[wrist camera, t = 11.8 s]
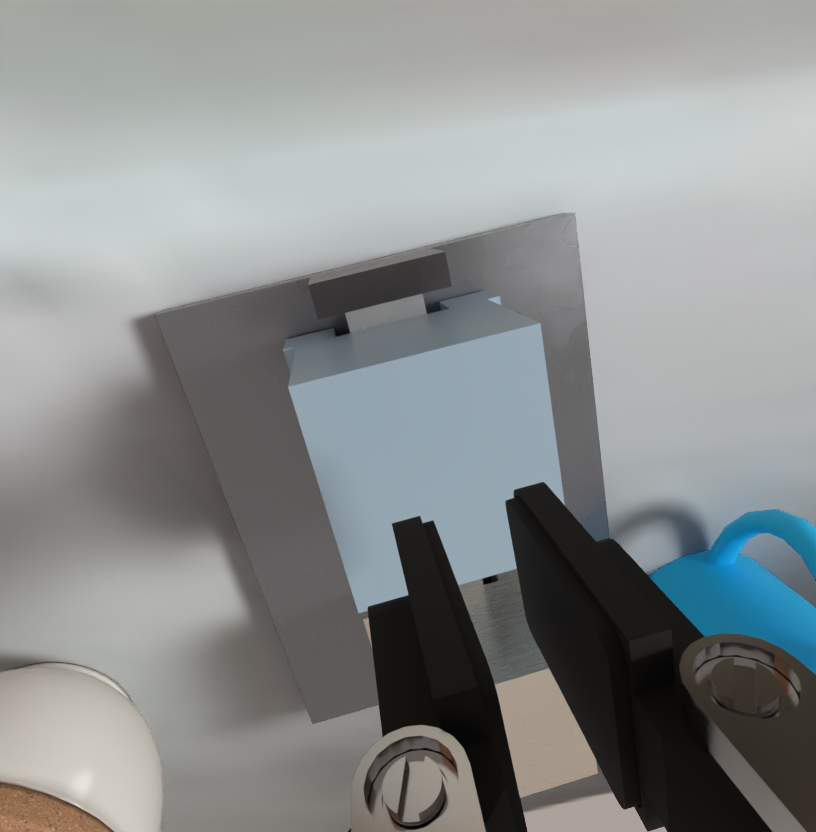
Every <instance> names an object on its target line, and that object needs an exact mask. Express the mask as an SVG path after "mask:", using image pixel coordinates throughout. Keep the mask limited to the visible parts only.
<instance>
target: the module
mask: <svg viewBox="0 0 816 832" xmlns="http://www.w3.org/2000/svg"><path fill="white" fill-rule="evenodd" d="M439 303H440V308H441V311H438V312H434V313H430V314H426V315H422V316H418V317H413V318H409V319H405V320H401V321H397V322H393V323H389V324H385V325H381V326H377V327H373V328H369V329H365V330H361V331H357V332H353V333H349V334H345V335H341V336H337V337H336V334H335V330H334V328H331V329H327V330H323V331H319V332H315V333H310V334H306V335H302V336H298V337H294V338H290V339H286V342H285V345H284V348H283V351H284V355H285V358H286V361H287V364H288V368H289V371H290V374H291V375H290V380H289V385H288V388H289V392H290V395H291V398H292V401H293V405H294V408H295V411H296V414H297V417H298V421H299V424H300V427H301V430H302V433H303V437H304V440H305V443H306V446H307V449H308V453H309V456H310V459H311V462H312V466H313V469H314V472H315V475H316V478H317V482H318V485H319V488H320V491H321V494H322V498H323V501H324V504H325V507H326V510H327V514H328V517H329V520H330V523H331V527H332V530H333V533H334V536H335V539H336V543H337V546H338V549H339V552H340V555H341V559H342V562H343V565H344V568H345V571H346V575H347V578H348V581H349V584H350V588H351V591H352V594H353V597H354V600H355V604H356V607H357V610H358V613H362V612H365V611H368V606H372V605H375V604H379V603H382V602H386V601H389V600H393V599H396V598H400V597H403V596H407V595H408V591H407V586H406V582H405V578H404V574H403V569H402V565H401V561H400V557H399V553H398V548H397V544H396V540H395V536H394V531H393V527H392V523H395V522H399V521H403V520H406V519H410V518H414V517H417V516H420V517H421V520H422V523H425V522H429V521H432V520H433V521H434V523H435V526H436V528H437V531H438V533H439V536H440V539H441V541H442V544H443V547H444V549H445V552H446V554H447V557H448V560H449V562H450V565H451V568H452V570H453V573H454V575H455V578H456V581H457V583H458V585H461V584H464V583H468V582H472V581H475V580H479V579H482V578H486V577H489V576H493V575H496V574H500V573H503V572H507V571H510V570H514V569H517V567H516V561H515V556H514V550H513V545H512V539H511V534H510V528H509V523H508V517H507V512H506V505H505V501H506V500H508V499H512V498H514V490H515V489H519V488H522V487H526V486H530V485H533V484H537V483H541V482H544V483H545V484H547V486H548V487H549V488H550V489H551V490H552V491H553V493H554V494H555V495H556V496H557V497H558V498H559V499H560V501H561V502H562V503H563V504H564V505H565V503H564V495H563V488H562V481H561V473H560V466H559V458H558V451H557V443H556V436H555V428H554V421H553V413H552V406H551V398H550V391H549V383H548V376H547V368H546V361H545V353H544V346H543V338H542V331H541V323H539V322H537V321H535V320H532V319H530V318H528V317H526V316H524V315H521V314H519V313H517V312H515V311H512V310H510V309H508V308H506V307H504V306H501V301H500V296H498V295H496V294H493V293H491V292H488V291H486V290H484V291H480V292H476V293H472V294H468V295H464V296H460V297H456V298H452V299H448V300H444V301H440V302H439Z"/></svg>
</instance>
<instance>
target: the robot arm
mask: <svg viewBox="0 0 816 832" xmlns="http://www.w3.org/2000/svg"><path fill="white" fill-rule="evenodd" d="M505 505H506V512H507V517H508V523H509V528H510V534H511V539H512V545H513V550H514V556H515V561H516V567H517V572H518V578H519V584H520V589H521V595H522V600H523V606H524V611H525V616H526V620H527V623H528V626H529V629H530V631H531V634H532V636H533V638H534V640H535V642H536V644H537V646H538V647H539V649H540V651H541V653H542V655H543V657H544V659H545V661H546V663H547V665H548V667H549V669H550V671H551V673H552V675H553V677H554V679H555V681H556V682H557V684H558V686H559V688H560V690H561V692H562V694H563V696H564V698H565V700H566V702H567V704H568V706H569V708H570V710H571V712H572V714H573V715H574V717H575V719H576V721H577V723H578V725H579V727H580V729H581V731H582V733H583V735H584V737H585V739H586V741H587V743H588V745H589V747H590V749H591V750H592V752H593V754H594V756H595V758H596V760H597V762H598V764H599V766H600V768H601V770H602V772H603V774H604V776H605V778H606V780H607V782H608V783H609V785H610V787H611V789H612V791H613V793H614V795H615V797H616V799H617V801H618V802H619V804H620V805H621V807H622V808H623V809H628V808H631V807H635V809H636V811H637V813H638V815H639V816H640V818H641V820H642V822H643V824H644V826H645V828H646V829H647V831H651V830H654V829H657V828H661V827H665V828H666V830H667V832H816V674H814V673H813V672H812V671H811V670H810V669H809V668H807V667H806V666H805V665H804V664H803V663H802V662H800V661H799V660H798V659H797V658H795V657H794V656H792V655H791V654H789V653H788V652H786V651H785V650H784V649H782V648H781V647H779V646H776V645H774V644H772V643H769V642H767V641H765V640H762V639H760V638H756V637H751V636H747V635H742V634H722V633H721V634H716V635H711V636H706V637H705V636H704V635H703V634H702V633H701V632H700V631H699V630H698V629H697V628H696V627H695V626H694V625H693V624H692V622H691V621H690V620H689V619H688V618H687V617H686V616H685V615H684V614H683V613H682V612H681V611H680V610H679V608H678V607H677V606H676V605H675V604H674V603H673V602H672V601H671V600H670V599H669V598H668V597H667V596H666V595H665V593H664V592H663V591H662V590H661V589H660V588H659V587H658V586H657V585H656V584H655V583H654V582H653V581H652V579H651V578H650V577H649V576H648V575H647V574H646V573H645V572H644V571H643V570H642V569H641V568H640V567H639V566H638V564H637V563H636V562H635V561H634V560H633V559H632V558H631V557H630V556H629V555H628V554H627V553H626V552H625V551H624V549H623V548H622V547H621V546H620V545H619V544H618V543H617V542H615V541H614V540H613V539H610V538H607V539H604V540H600V541H597V542H596V541H595V540H594V539H593V537H592V536H591V535H590V534H589V533H588V532H587V531H586V529H585V528H584V527H583V526H582V525H581V524H580V523H579V521H578V520H577V519H576V518H575V517H574V516H573V514H572V513H571V512H570V511H569V510H568V509H567V508H566V506H565V505H564V504H563V503H562V502H561V501H560V499H559V498H558V497H557V496H556V495H555V494H554V493H553V491H552V490H551V489H550V488H549V487H548V486H547V484H545V483H544V482H541V483H537V484H533V485H530V486H526V487H522V488H519V489H515V490H514V498H512V499H508V500H506V501H505ZM392 527H393V531H394V536H395V540H396V544H397V548H398V553H399V557H400V561H401V565H402V569H403V574H404V578H405V582H406V586H407V591H408V595H407V596H403V597H400V598H396V599H393V600H389V601H386V602H382V603H379V604H375V605H372V606H368V618H369V627H370V635H371V643H372V651H373V660H374V668H375V676H376V684H377V693H378V701H379V709H380V717H381V726H382V734H383V738H381V739H380V740H379V741H377V742H376V743H375V744H373V745H372V747H371V748H370V749H369V750H368V752H367V753H366V754H365V755H364V757H363V758H362V759H361V761H360V763H359V766H358V768H357V770H356V772H355V774H354V777H353V783H352V790H351V828H350V830H349V831H348V832H527V828H526V823H525V818H524V814H523V809H522V805H521V800H520V795H519V791H518V786H517V782H516V777H515V772H514V768H513V763H512V759H511V754H510V749H509V745H508V740H507V735H506V731H505V726H504V722H503V717H502V712H501V708H500V703H499V699H498V695H497V691H496V687H495V684H494V680H493V677H492V674H491V671H490V668H489V665H488V662H487V659H486V657H485V654H484V652H483V649H482V646H481V644H480V641H479V638H478V636H477V633H476V631H475V628H474V625H473V623H472V620H471V617H470V615H469V612H468V610H467V607H466V604H465V602H464V599H463V596H462V594H461V591H460V589H459V586H458V583H457V581H456V578H455V575H454V573H453V570H452V568H451V565H450V562H449V560H448V557H447V554H446V552H445V549H444V547H443V544H442V541H441V539H440V536H439V533H438V531H437V528H436V526H435V523H434V521H433V520H432V521H429V522H425V523H422V520H421V517H420V516H417V517H414V518H410V519H406V520H403V521H399V522H395V523H392Z"/></svg>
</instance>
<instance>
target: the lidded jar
mask: <svg viewBox="0 0 816 832" xmlns="http://www.w3.org/2000/svg"><path fill="white" fill-rule="evenodd" d="M163 793H164V786H163V770H162V764H161V758H160V754H159V750H158V746H157V743H156V740H155V738H154V736H153V733H152V731H151V729H150V727H149V725H148V723H147V721H146V720H145V718H144V717H143V716H142V714H141V713H140V712H139V710H138V709H137V708H136V707H135V705H134V704H133V703H132V701H131V699H130V697H129V696H128V695H127V693H126V692H125V691H124V689H122V688H121V687H120V686H119V685H118V684H117V683H116V682H115V681H113V680H112V679H110V678H109V677H107V676H106V675H104V674H102V673H100V672H98V671H95V670H93V669H90V668H87V667H84V666H79V665H75V664H69V663H39V664H32V665H28V666H24V667H21V668H18V669H13V670H7V671H1V672H0V832H161V824H162V817H163Z"/></svg>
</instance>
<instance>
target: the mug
mask: <svg viewBox="0 0 816 832" xmlns="http://www.w3.org/2000/svg"><path fill="white" fill-rule="evenodd" d="M759 533H770V534H772V535H775V536H777V537H779V538H782V539H784V540H785V541H786V542H787V543H788V544H789V545H790V546H791V547H792V548H793V549H794V550H795V551H796V552H797V553H798V554H799V555H801V557H802V558H803V560H804V562H805V563H806V565H807V567H808V568H809V570H810V572H811V573H812V575H813V577H814V578H815V580H816V528H815V527H814V526H813V525H812V524H811V523H809V522H808V521H807V520H805V519H802V518H799V517H797V516H794V515H791V514H789V513H786V512H783V511H780V510H765V511H755V512H749V513H746V514H744V515H743V516H741V517H740V518H738V519H737V520H735V521H733V522H732V523H730V524H729V525H727V526H726V527H725V528H724V530H723V531H722V533H721V534H720V535H719V537H718V538H717V540H716V541H715V543H714V544H713V546H712V547H711V550H707V551H703V552H698V553H694V554H690V555H686V556H683V557H681V558H679V559H677V560H675V561H673V562H671V563H669V564H668V565H666V566H664V567H662V568H660V569H658V570H657V571H656V572H655V573H654V574H653V575H651V576H650V578H651V579H652V581H653V582H654V583H655V584H656V585H657V586H658V587H659V588H660V589H661V590H662V591H663V592H664V593H665V595H666V596H667V597H668V598H669V599H670V600H671V601H672V602H673V603H674V604H675V605H676V606H677V607H678V608H679V610H680V611H681V612H682V613H683V614H684V615H685V616H686V617H687V618H688V619H689V620H690V621H691V622H692V624H693V625H694V626H695V627H696V628H697V629H698V630H699V631H700V632H701V633H702V634H703V635H704V636H705V637H706V636H711V635H716V634H721V633H722V634H742V635H747V636H751V637H756V638H760V639H762V640H765V641H767V642H769V643H772V644H774V645H776V646H779V647H781V648H782V649H784V650H785V651H786V652H788V653H789V654H791V655H792V656H794V657H795V658H797V659H798V660H799V661H800V662H802V663H803V664H804V665H805V666H806V667H807V668H809V669H810V670H811V671H812V672H813V673H814V674H816V608H815V607H814V606H813V605H811V604H810V603H809V602H808V601H806V600H805V599H804V598H802V597H801V596H800V595H799V594H797V593H796V592H795V591H793V590H792V589H791V588H790V587H788V586H787V585H786V584H784V583H783V582H782V581H780V580H779V579H778V578H777V577H775V576H774V575H773V574H771V573H770V572H769V571H768V570H766V569H765V568H764V567H762V566H761V565H760V564H759V563H757V562H756V561H755V560H753V559H751V558H749V557H746V556H744V555H742V554H739V552H740V550H741V549H742V548H743V546H744V545H745V544H746V542H747V541H748V539H750V538H752V537H754V536H755V535H757V534H759Z"/></svg>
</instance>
